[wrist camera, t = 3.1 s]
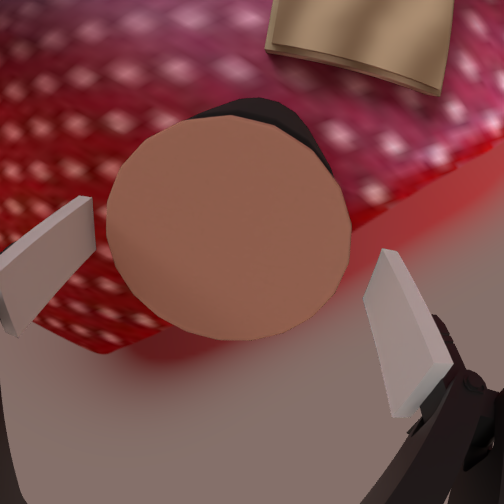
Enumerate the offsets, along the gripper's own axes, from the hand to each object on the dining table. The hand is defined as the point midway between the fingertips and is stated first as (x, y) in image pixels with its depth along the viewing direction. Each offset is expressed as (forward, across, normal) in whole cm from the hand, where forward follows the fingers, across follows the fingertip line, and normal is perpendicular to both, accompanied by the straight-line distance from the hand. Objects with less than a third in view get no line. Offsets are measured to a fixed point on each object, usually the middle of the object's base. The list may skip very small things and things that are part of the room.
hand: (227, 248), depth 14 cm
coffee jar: (+18, 0, 0) cm, 18 cm away
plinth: (+17, +7, +17) cm, 25 cm away
